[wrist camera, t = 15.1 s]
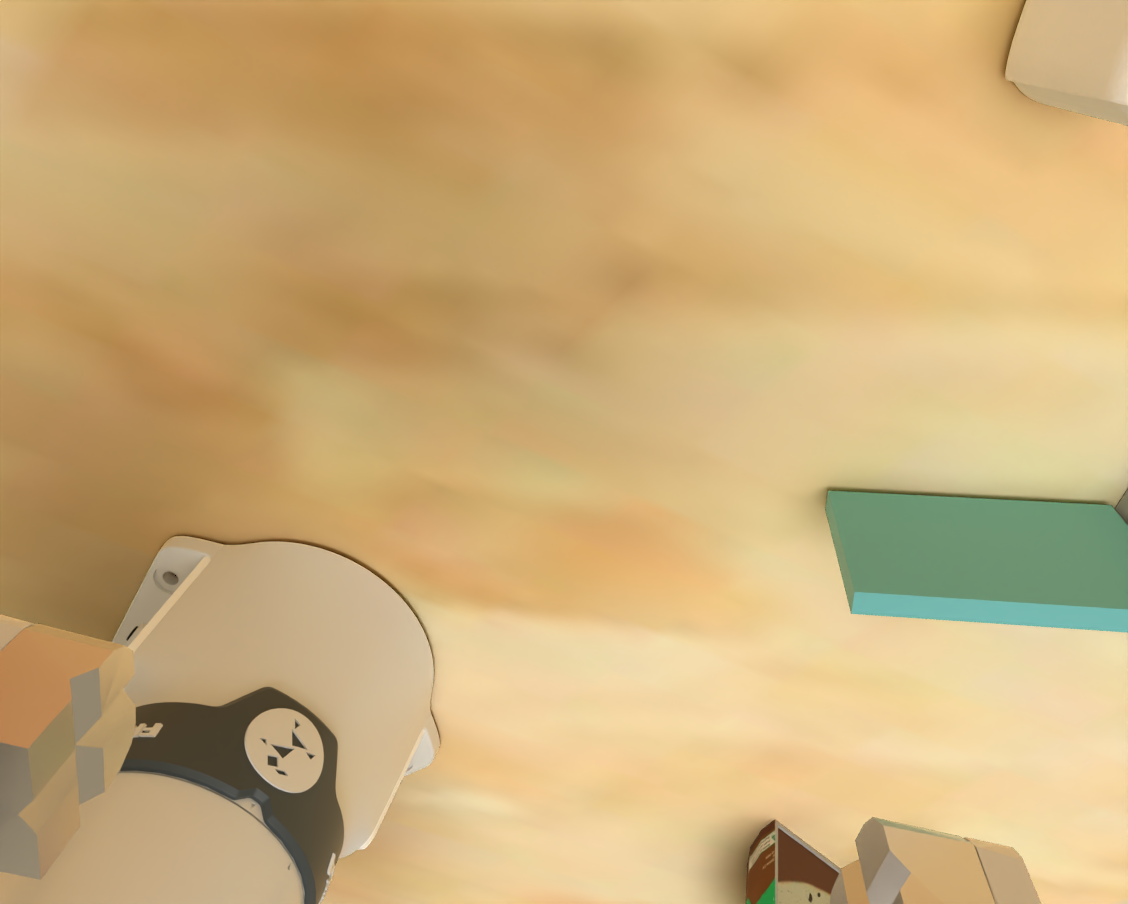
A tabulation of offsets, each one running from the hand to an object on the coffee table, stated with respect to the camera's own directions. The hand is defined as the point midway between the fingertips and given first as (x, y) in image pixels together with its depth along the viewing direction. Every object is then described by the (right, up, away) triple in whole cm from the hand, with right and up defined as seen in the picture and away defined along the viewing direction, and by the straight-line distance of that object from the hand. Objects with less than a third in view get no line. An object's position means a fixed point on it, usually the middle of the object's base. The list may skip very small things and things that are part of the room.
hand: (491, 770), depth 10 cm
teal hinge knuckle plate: (+22, +1, +30) cm, 37 cm away
